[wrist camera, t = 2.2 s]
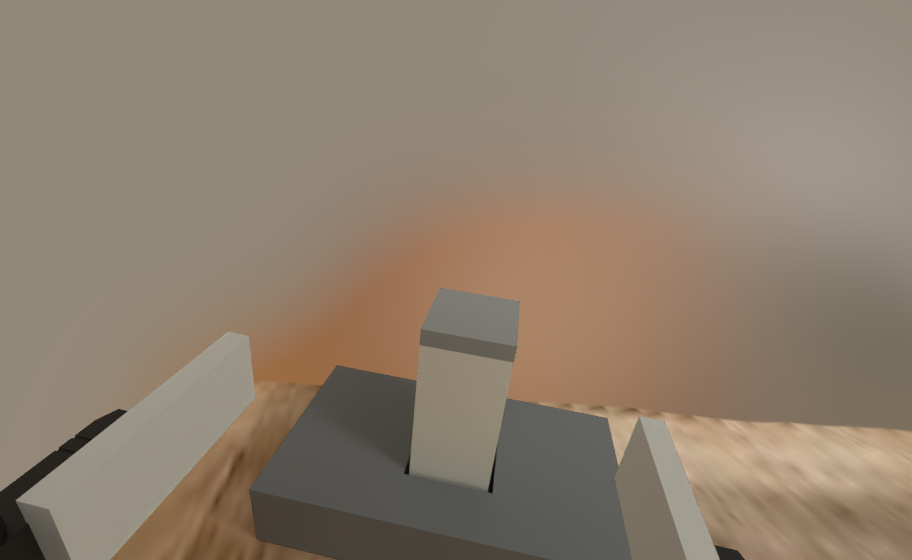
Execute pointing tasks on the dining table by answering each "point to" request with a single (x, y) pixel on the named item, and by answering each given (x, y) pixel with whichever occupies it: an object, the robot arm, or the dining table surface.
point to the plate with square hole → (437, 484)
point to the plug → (462, 387)
